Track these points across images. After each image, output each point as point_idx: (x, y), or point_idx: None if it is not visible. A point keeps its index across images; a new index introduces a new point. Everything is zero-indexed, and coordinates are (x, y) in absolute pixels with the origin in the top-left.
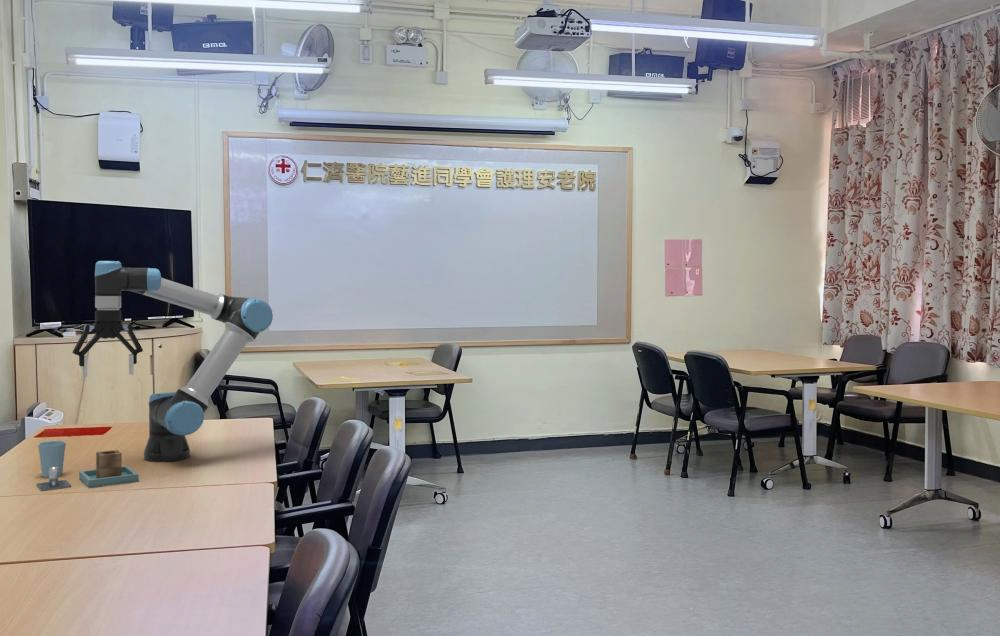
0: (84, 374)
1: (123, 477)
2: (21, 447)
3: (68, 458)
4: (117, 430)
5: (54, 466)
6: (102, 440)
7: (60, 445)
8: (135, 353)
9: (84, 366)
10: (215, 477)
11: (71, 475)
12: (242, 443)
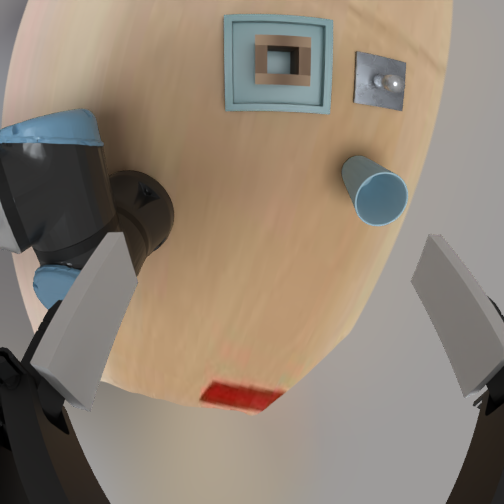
0: (448, 250)
1: (258, 14)
2: (318, 362)
3: (291, 286)
4: (195, 388)
5: (394, 90)
6: (219, 360)
7: (373, 173)
8: (4, 358)
9: (478, 287)
10: (89, 3)
11: (330, 150)
12: (34, 254)
